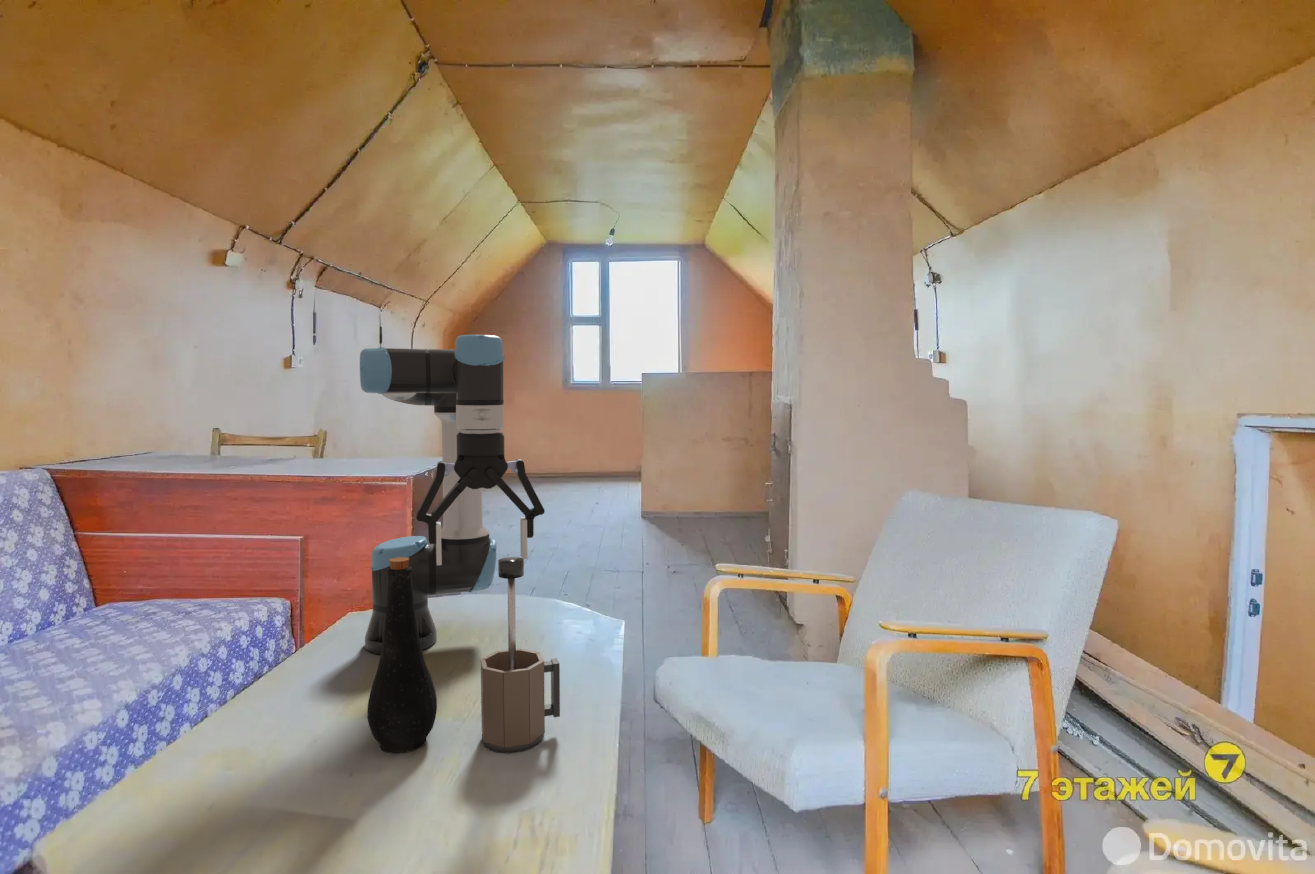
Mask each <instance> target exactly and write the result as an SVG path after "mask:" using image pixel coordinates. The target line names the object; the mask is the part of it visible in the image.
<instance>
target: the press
mask: <svg viewBox="0 0 1315 874" xmlns="http://www.w3.org/2000/svg"><path fill="white" fill-rule="evenodd" d="M560 672H561V671H560V662H559V660H558V658H556V657H555V658H550V660H549V661H545V660H544V657H543V656H542V653H541V652H540V651H536V650H529V649H525V648H516V670H509V659H508V649H504V650H497V651H495V652H492V653H490V654H488V655H486V656H484V657H482V658H480V697H481V698H480V705H481V706H480V707H481V717H480V718H481V744H482V746H483V747H484V748H486V750H489V751H492V752H494V753H500V754H516V753H521V752H525V751H528V750H531V749H533V748H535V747H537V746H539V744H541V743H542V742H543V740H544V738H545V733H546V730H545V729H546V727H545V725H546V724H545V722H546V720H545V718H546V717H550V716H553V718H558V717H559V718H560V717H561V713H560V712H561V701H560V699H561V693H560V691H561V689H560V688H561V686H560V678H561V677H560V676H561V675H560V674H561V673H560ZM546 673H550V704H545V674H546Z"/></svg>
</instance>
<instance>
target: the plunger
mask: <svg viewBox="0 0 1315 874" xmlns="http://www.w3.org/2000/svg"><path fill="white" fill-rule="evenodd" d="M497 562H498V563H497V564H498V565H497V566H498V567H497V568H498V570H497V571H498V577H499V578H501V579H507V639H508V640H507V641H508V642H507V643H508V644H507V646H508V649H507V650H508V659H509V670H516V649H517V648H516V647H517V639H516V638H517V628H516V627H517V626H516V625H517V623H516V621H517V620H516V619H517V618H516V579H517V578H522V577H524V575H525V568H524V567H525V564H524V563H525V559H523V558H522V557H517V556H515V557H514V556H509V557H503V558H500V559H498V561H497Z"/></svg>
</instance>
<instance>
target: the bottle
mask: <svg viewBox="0 0 1315 874" xmlns="http://www.w3.org/2000/svg"><path fill="white" fill-rule="evenodd" d="M389 562H390V568H389V569H387V575H388V582H387V607H386V618H385V627H384V636H383V645H382V650H381V654H380V657H379V662H378V665H377V670H376V673H375V676H374V679H373V681H372V685H371V689H370V693H369V697H368V703H367V722H368V726H369V729H370V732H371V734H372V736H373V738H374V739H375V741H376V742H377V743H378V744H379V747H380V750H381V751H383V753H388V754H397V755H398V754H406V753H410V752H413V751H415V750H418V749H419V748H421V747H423V746H424V745H425V744H426V743H427V737H428V736H429V734H430V733H431V732H432V730H433V728H434V724H435V720H436V717H437V712H438V711H437V709H438V707H437V706H438V705H437V703H438V702H437V699H438V698H437V693H436V689H435V684H434V681H433V678H432V676H431V673H430V670H429V668H428V665H427V664H426V659H425V657H424V652H423V650H422V648H421V644H420V639H419V633H418V627H417V621H416V614H415V607H414V598H413V586H412V574H411V573H412V568H411V567H409V566H408V565H409V558H407V557H397V558H392V559H390V560H389Z"/></svg>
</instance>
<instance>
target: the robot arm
mask: <svg viewBox="0 0 1315 874" xmlns="http://www.w3.org/2000/svg"><path fill="white" fill-rule="evenodd" d="M454 344H455V348H453V349H451V348H449V349H446V348H445V349H442V348H441V349H439V348H435V349H433V348H432V349H431V348H389V347H388V348H385V347H374V348H373V347H372V348H370V347H369V348H364V349H362V350H361V351H360V354H359V380H360V389H361V390H362V391H363V392H364V393H369V394H378V395H382V396H383V397H385V398H386V399H389V400H390V401H394V402H398V403H402V404H406V405H413V406H425V407H426V406H433V410H434V411H433V412H434V413H433V414H434V415H435V416H436V417H437V418H438V419H439V420H440V421H441V422H440V423H441V447H442V448H441V455H442V456H441V457H442V458H441V459H442V460H441V461H437V463H436V469H435V476H434V478H433V480H432V482H431V483H430V484H431V485H429V487H428V490H427V491H426V494H425V496H424V498H423V500H422V502H421V504H420V505H419V508H418V510H417V512H416V520H417V521H418V522H423V523H425V524H427V529H428V530H427V531H428V532H427V533H428V535H427V536H428V540H427V538H426V537H425V536H423V535H416V536H415V535H409V536H404V537H399V538H393V539H390V540H386V541H384V542H382V543H379V544H377V545H376V546H375V548H373V550H372V552H371V566H370V571H371V586H372V588H371V591H372V595H371V597H372V600H371V601H372V613H371V616H370V618H369V619H370V620H369V623H368V626H367V630H366V633H365V636H364V649H365V650H366V651H367V652H369V653H371V654H375V655H381V650H382V645H383V636H384V627H385V618H386V607H387V582H388V575H387V569H389V568H390V562H389V560H390V559H392V558H397V557H407V558H409V565H408V566H409V567H411V568H412V573H411V574H412V586H413V598H414V607H415V614H416V621H417V627H418V633H419V639H420V644H421V648H422V651H423V650H425V649H428V648H430V647H432V646H433V645H434V644H436V643H437V639H438V638H437V637H438V636H437V628H436V625H435V622H434V619H433V617H432V614H431V612H430V608H429V601H428V600H429V599H428V598H429V596H433V595H434V596H435V595H445V594H446V595H447V594H458V593H473V592H477V591H484V590H487V589H489V588H490V586H492V583H493V580H494V577H495V573H496V572H495V571H496V563H497V542H496V540H495V538H492V537H490V531H489V530H488V529H487V528H486V527H485V526H484V525H483V489H488V490H489V489H493V488H494V487H496V486H497V487H498V488H499V489H500V490H501V491H502V492H503V493H504V495H505V496H507V498H509V500H510V501H512V503H513V504H514V505H515V507H517V508H518V510H520V512H521V513H522V514H523V515H524V516H521V517H520V519H519V520H520V522H519V524H520V526H519V527H520V529H519V530H520V532H519V533H520V540H519V541H520V558H523V559H524V560H528V539H531V538H534V532H535V531H534V530H535V529H534V528H535V527H534V520H535V518H536V517H538V516H543V515H544V514H545V513H546V512H545V508H544V507H543V504H542V503H541V500H540V499H539V497H538V495H537V492H536V491H535V489H534V487H533V485H532V484H531V481H530V479H529V478H528V476H527V474H526V467H525V466H526V465H525V461H523V460H522V459H520V458H517V459H515V460H511V461H507V460H506V458H505V434H504V432H503V431H501V430H504V428H505V416H504V415H505V414H504V413H505V412H504V410H505V409H504V360H505V354H504V345H503V340H502V338H501V337H500V336H497V335H492V334H491V335H490V334H462V335H458V336H457V337H456V339H455V343H454ZM507 470H511V472H512V473H513V474H514V475H516V476H517V477H518V480H519V482H520V484H521V486H522V487H523V489H524V491H525V494H526V496H527V497H528V499H529V500H530V502H531V505H532V506H533V507H532V508H529V507H528V506H527V505H526V504H525V503H524V502H523V500H522V499H521V498H520V497H519V496H518V494H517V493H516V492H514V490H513V489H512V488H511V487H510V485H508V484H507V483H506V481H505V480H504V479H503V478H502V477H503V476H504V475H505V474H506V472H507ZM441 485H442V500H441V501H440V502H439V503H438V504H437V506H436V507H435V508H434V510H433V511H432V512H430V513H428V512H429V510H430V508H431V506H432V504H433V501H434V500H435V498H436V495H437V494H438V492H439V489H440V488H441ZM442 516H443V517H442ZM441 517H442V518H443V521H442V522H443V526H442V524H441V523H442V522H441V521H439V519H440V518H441Z"/></svg>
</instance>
